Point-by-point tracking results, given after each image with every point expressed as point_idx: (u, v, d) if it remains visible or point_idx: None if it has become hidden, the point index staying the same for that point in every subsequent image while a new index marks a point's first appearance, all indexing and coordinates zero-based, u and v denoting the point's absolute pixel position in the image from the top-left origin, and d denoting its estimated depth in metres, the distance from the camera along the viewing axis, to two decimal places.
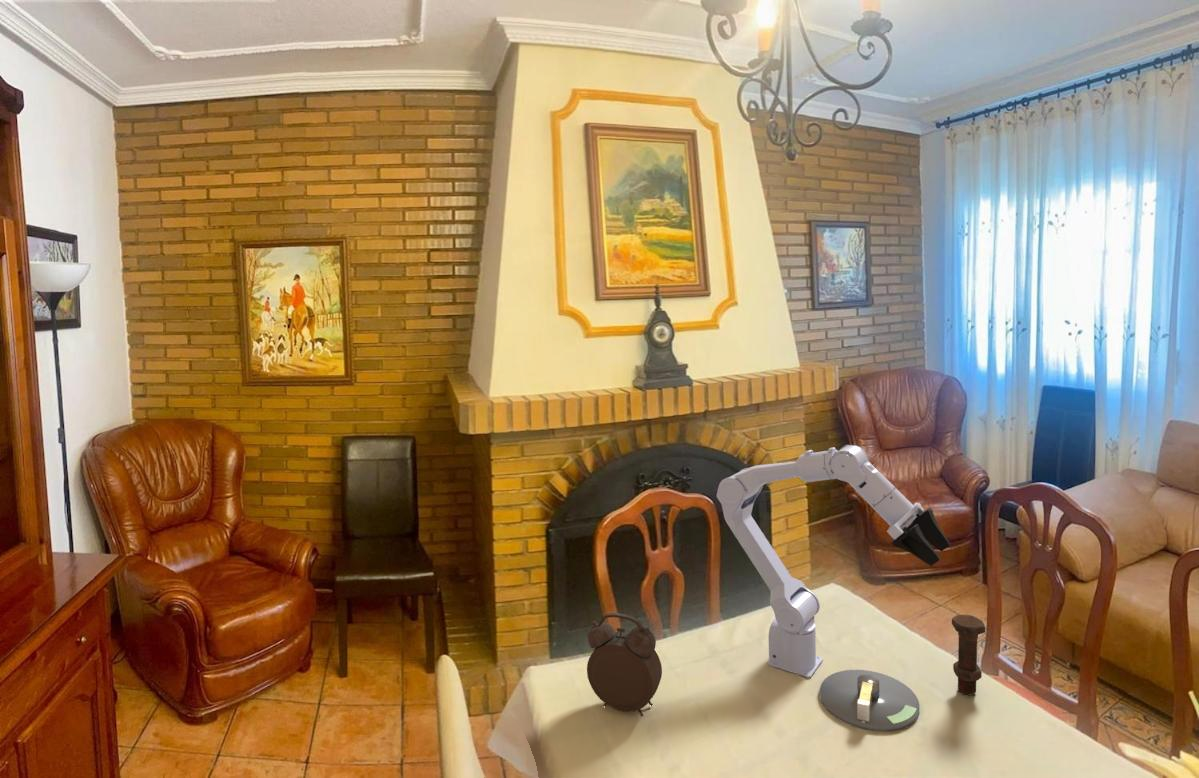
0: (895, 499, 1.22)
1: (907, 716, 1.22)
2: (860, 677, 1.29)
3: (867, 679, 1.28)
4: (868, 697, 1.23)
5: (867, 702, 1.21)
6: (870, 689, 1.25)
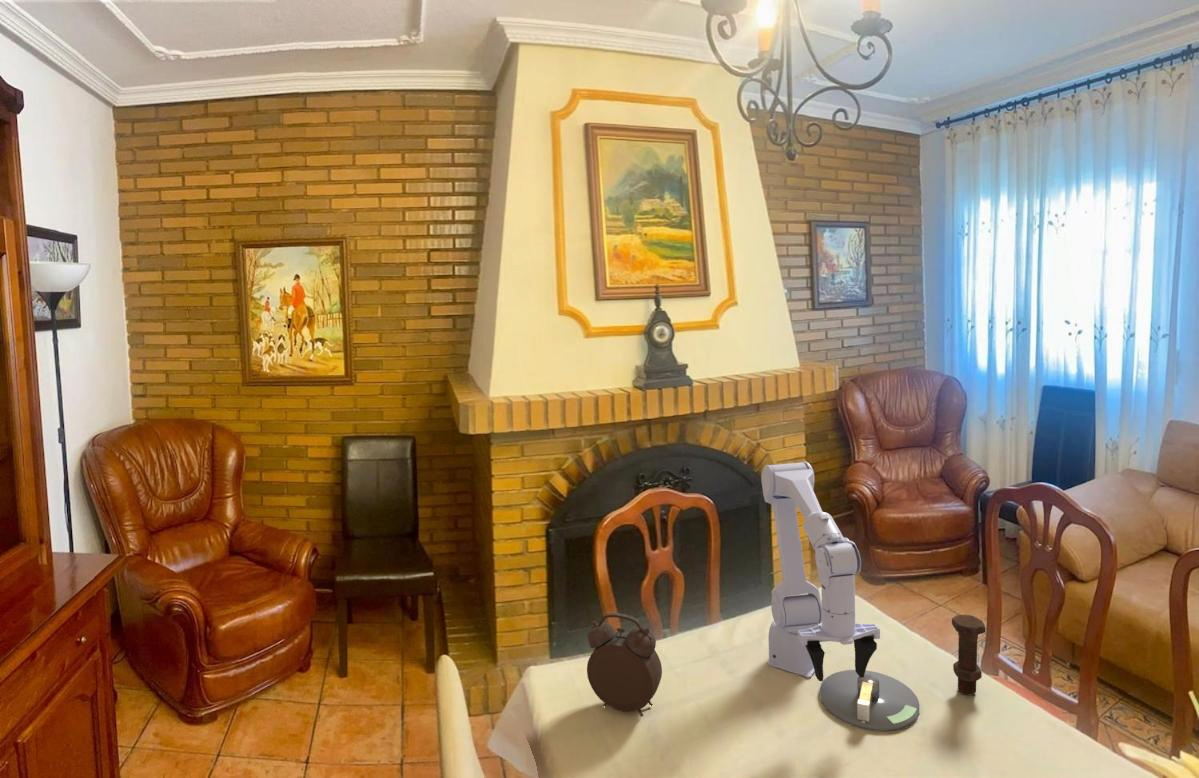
0: (833, 621, 1.17)
1: (907, 716, 1.22)
2: None
3: (867, 679, 1.28)
4: (868, 697, 1.23)
5: (867, 702, 1.21)
6: (870, 689, 1.25)
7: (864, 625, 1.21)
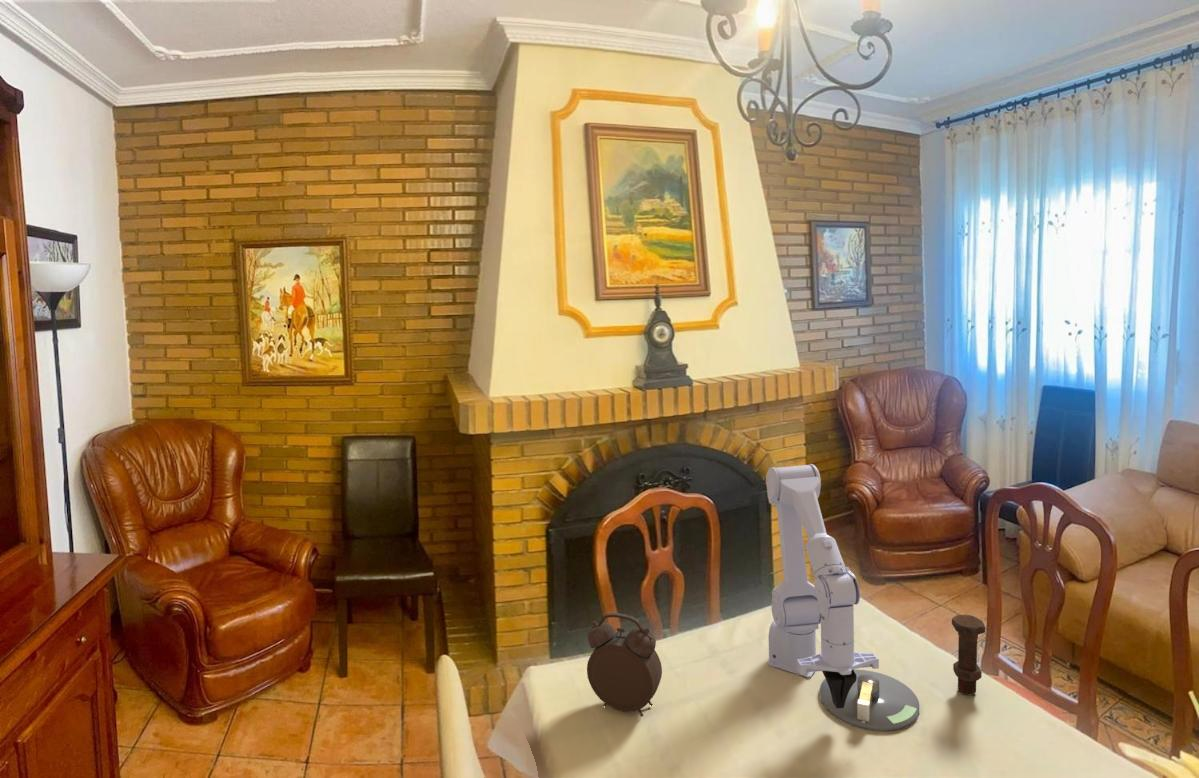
0: (832, 651, 1.18)
1: (907, 716, 1.22)
2: (860, 677, 1.29)
3: (867, 679, 1.28)
4: (868, 697, 1.23)
5: (867, 702, 1.21)
6: (870, 689, 1.25)
7: (863, 654, 1.22)
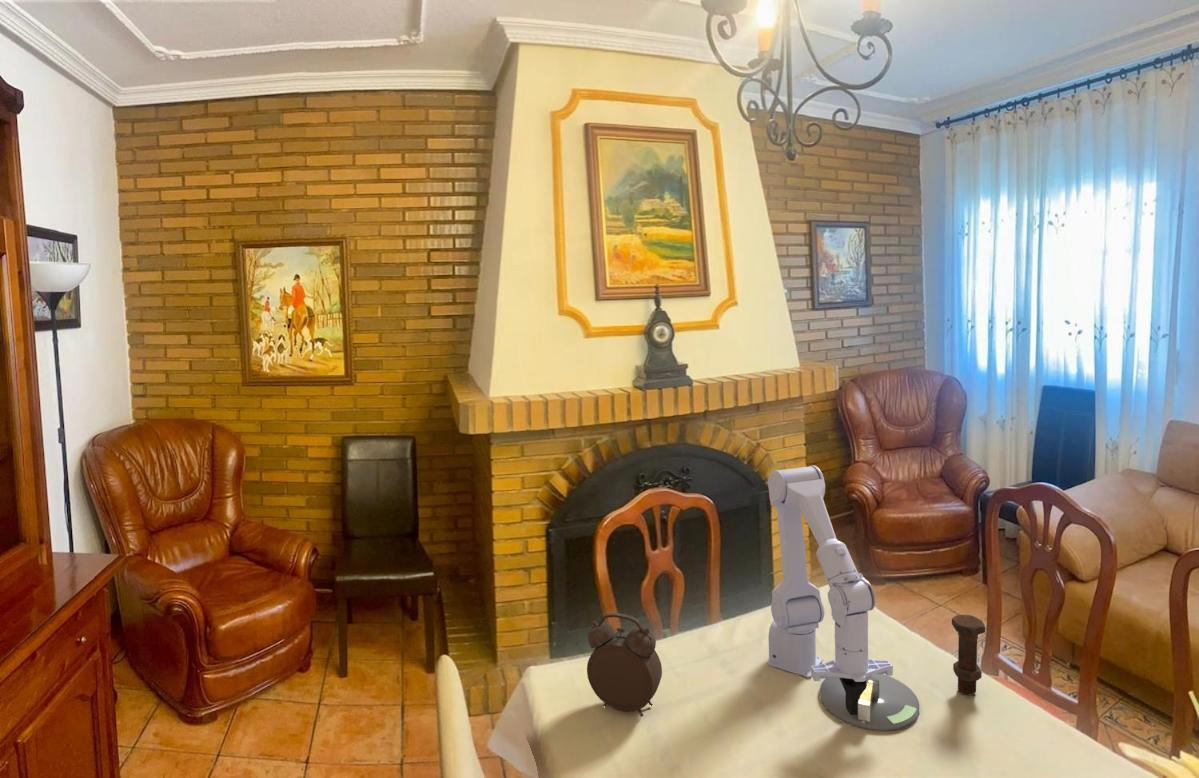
0: (846, 658, 1.19)
1: (907, 716, 1.22)
2: None
3: (867, 679, 1.28)
4: (868, 697, 1.23)
5: (868, 702, 1.21)
6: (870, 689, 1.25)
7: (877, 661, 1.22)
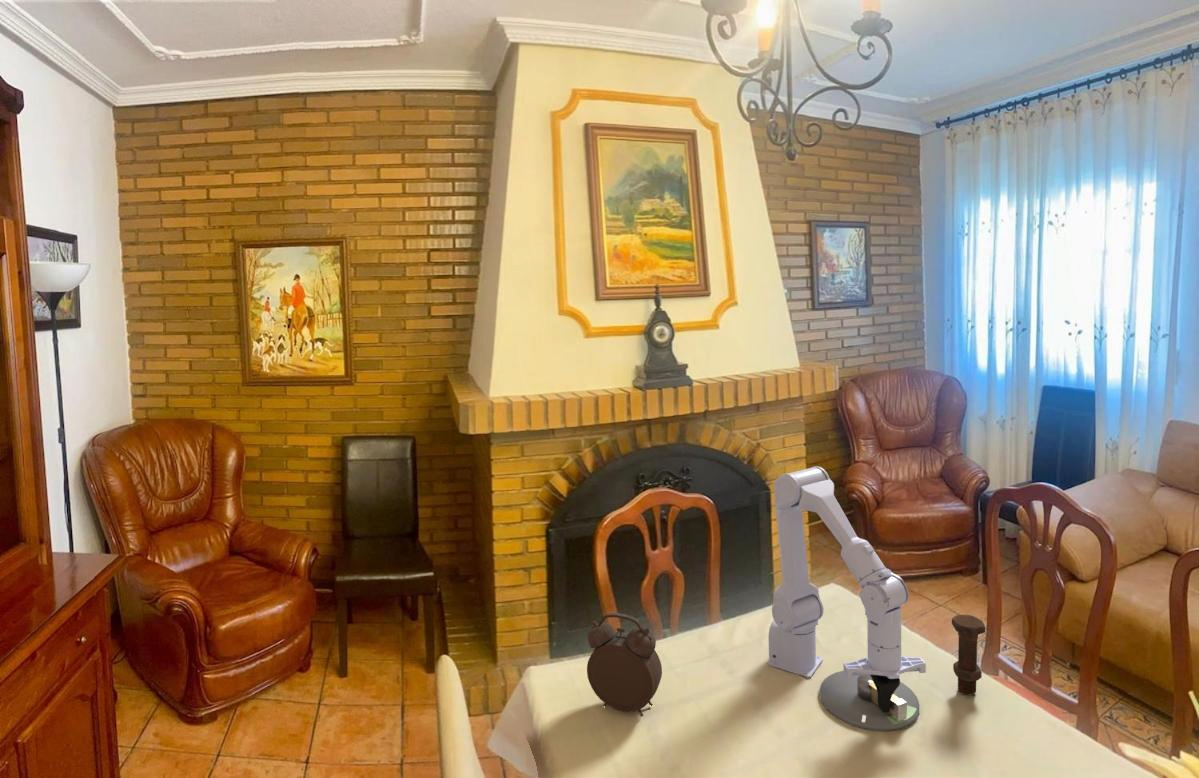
0: (879, 655, 1.18)
1: (907, 716, 1.22)
2: (860, 681, 1.28)
3: (866, 680, 1.28)
4: (893, 695, 1.23)
5: (902, 700, 1.21)
6: None
7: (909, 658, 1.22)
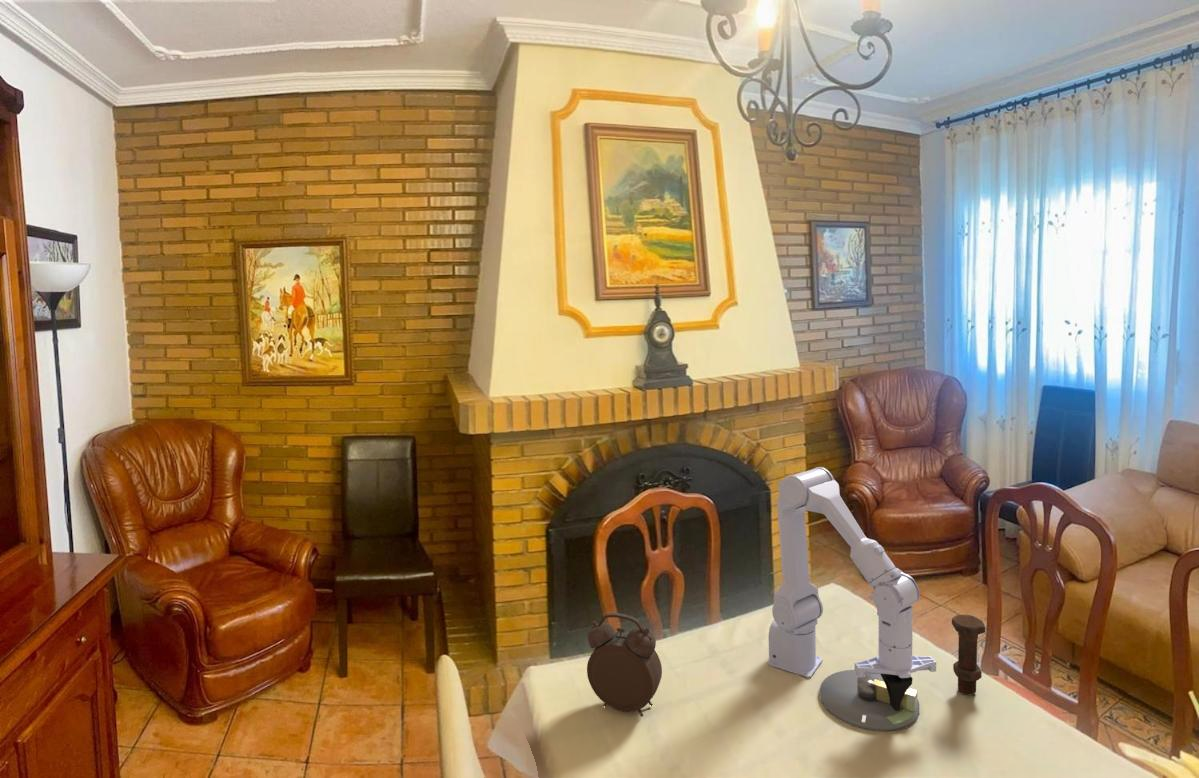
0: (891, 654, 1.19)
1: (907, 716, 1.22)
2: (863, 683, 1.27)
3: (866, 680, 1.28)
4: None
5: (912, 690, 1.24)
6: None
7: (920, 657, 1.23)
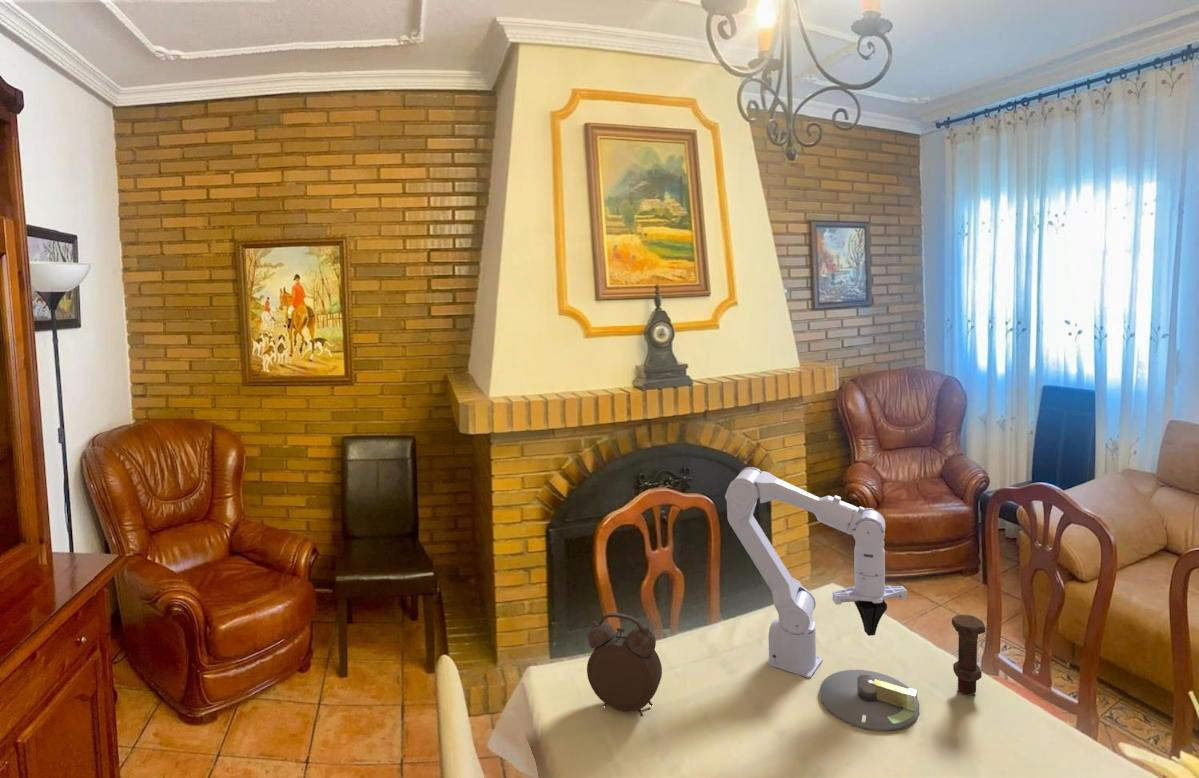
0: (865, 582, 1.31)
1: (907, 716, 1.22)
2: (863, 683, 1.27)
3: (866, 680, 1.28)
4: (900, 687, 1.25)
5: (912, 690, 1.24)
6: (885, 683, 1.27)
7: (892, 587, 1.34)
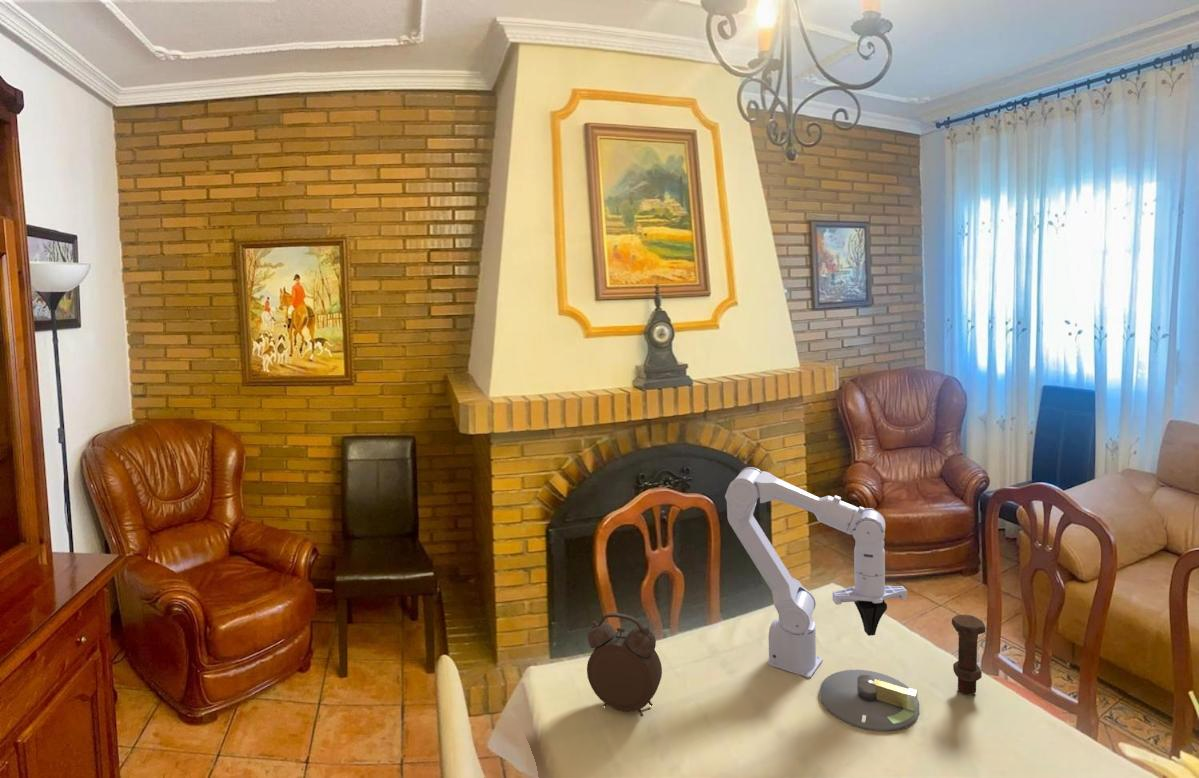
0: (865, 582, 1.31)
1: (907, 716, 1.22)
2: (863, 683, 1.27)
3: (866, 680, 1.28)
4: (900, 687, 1.25)
5: (912, 690, 1.24)
6: (885, 683, 1.27)
7: (892, 587, 1.34)
